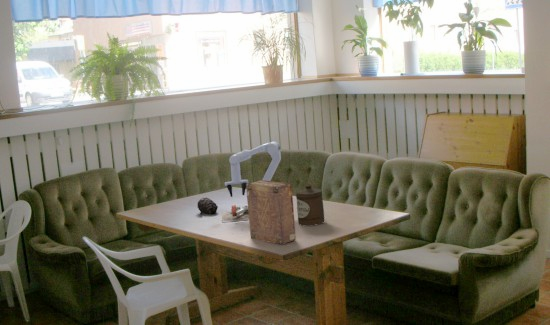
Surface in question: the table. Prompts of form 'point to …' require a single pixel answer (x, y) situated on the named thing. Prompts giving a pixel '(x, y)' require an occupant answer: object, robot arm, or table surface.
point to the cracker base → (228, 216)
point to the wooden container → (310, 206)
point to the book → (271, 211)
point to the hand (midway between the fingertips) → (237, 195)
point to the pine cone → (207, 206)
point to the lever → (237, 212)
